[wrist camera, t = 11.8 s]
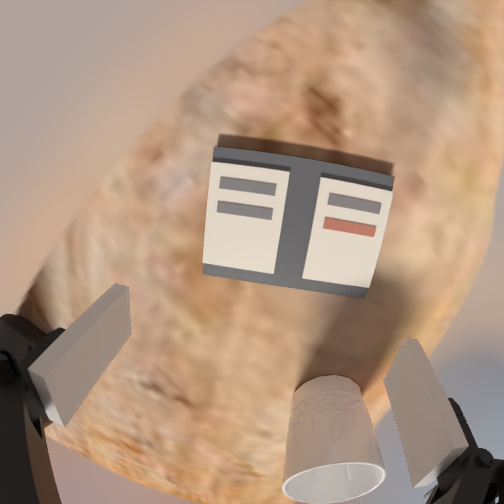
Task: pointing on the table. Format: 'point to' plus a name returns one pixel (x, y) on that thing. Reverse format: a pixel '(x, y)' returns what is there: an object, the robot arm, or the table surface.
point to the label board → (294, 221)
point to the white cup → (330, 443)
